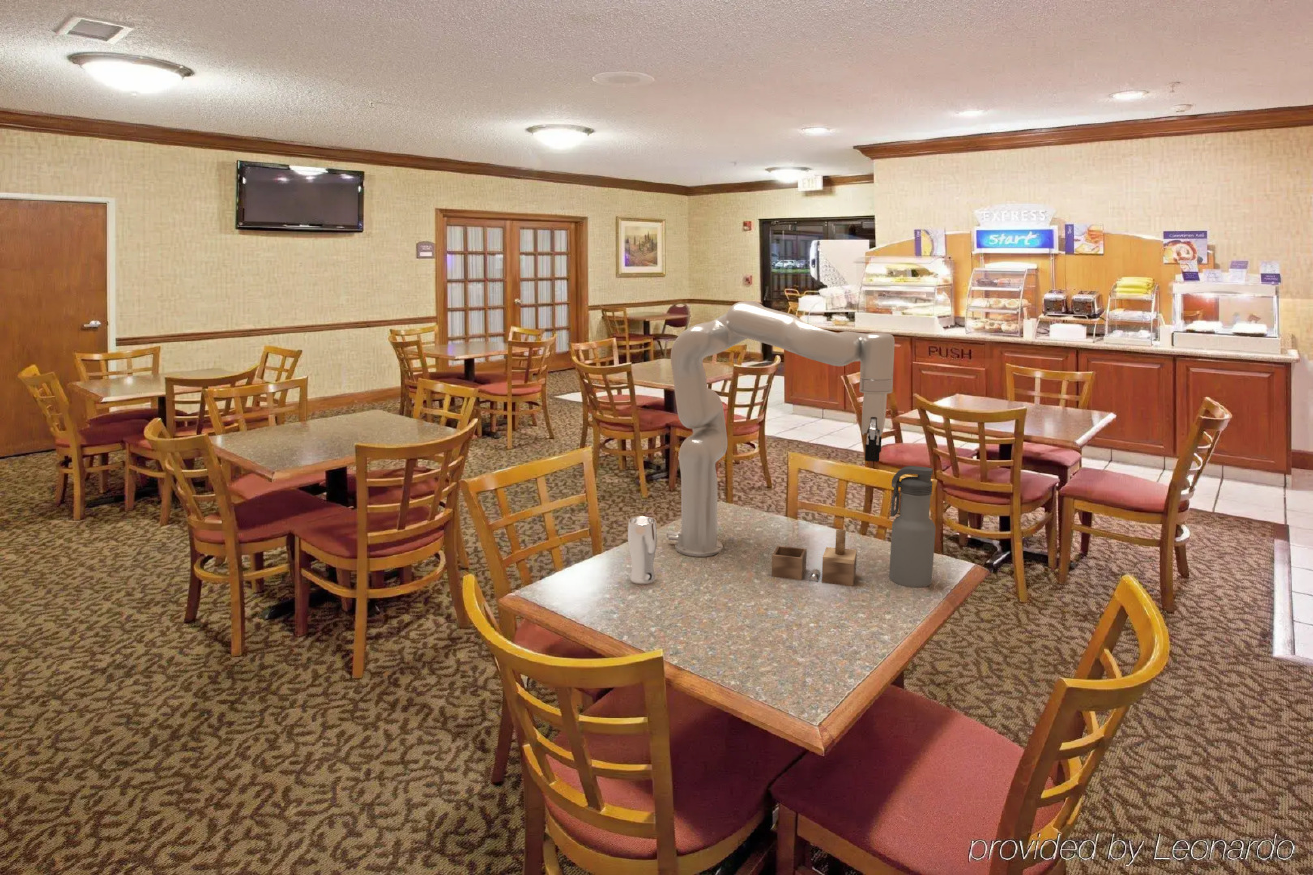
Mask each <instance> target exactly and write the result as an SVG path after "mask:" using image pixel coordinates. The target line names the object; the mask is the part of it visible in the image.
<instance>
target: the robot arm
mask: <svg viewBox="0 0 1313 875" xmlns="http://www.w3.org/2000/svg"><path fill="white" fill-rule="evenodd" d="M747 339H748V340H752V341H755V342H758V343H762V344H766V345H769V346H772V347H775V348H780V349H782V350H784V351H787V352H790V353H793V354H795V355H798V356H800V357H804V358H806V359H809V360H813V361H815V362H816V361H817V362H820V363H823V364H827V365H829V366H835V367H845V366H847V365H849V364H851V363H854V362H860V364H859V365H860V366H859V367H860V369H859V370H860V371H859V393H862V394H863V397H862V409H861V410H862V412H861V414H862V415H861V427H860V428H861V429H860V430H861V435H863V436H864V435H865V434H866V442H865V445H864V446H865V447H864V448H865V449H864V461H865V462H873V463H874V462H875V463H876V462H879V461H880V453H882V436H881V435H883V433H884V428H885V424H886V423H885V422H886V414H887V399H888V394H892V393H893V385H894V384H893V382H894V364H895V363H894V361H895V345H896V344H895V343H896V342H895V337H894V336H893V334H891V333H889V332H887V333H886V332H871V333H862V332H855V331H849V330H848V331H847V330H846V331H845V330H844V331H840V332H834V331H831V330H826V329H824V328H820V327H817V326H813V325H811V324H809V323H806V322H804V321H803V320H802V319H801V318H799V316H796V315H794V314H792V313H789V312H785V311H780V310H777V309H772V308H770V307H765V306H764V305H762V304H761V303H760V302H757V301H756V300H744V301H738V302H736V303H734V304H732V305H731V306H730V307H729V308H728V310H727V312H726V313H724V314H722V315H721V316H718V317H716V318H715V319H713V320H710V321H709V322H701V323H697V324H695V325H692V326H689V327H687V328H686V329H685V330H683V331H682V332H681V333H680V334H679V335H678V336H677V337H676V339H675V340H674V342H673V344H672V346H671V350H670V366H671V370H672V371H671V372H672V379H673V388H674V396H675V403H676V411H677V412H676V413H677V416H678V420H679V422H680V423H681V424H682V426H683V427H685V428H686V429H691V430H692V434H691V435H689V436H687V437H686V438H685V439H684V441H683V442H682V443H681V446H680V447H679V451H678V463H679V468H680V481H681V482H680V483H681V485H680V486H681V487H680V488H681V489H680V490H681V492H680V493H681V498H680V500H681V502H680V504H681V512H680V513H681V517H680V518H681V519H680V520H681V521H680V522H681V530H678V531H674V530H667V531H666V537H667V538H668V540H669V541H676V543H675V550H676V552H678V553H680V554H681V555H685V556H688V557H699V558H701V557H703V558H704V557H705V558H706V557H711V556H714V555H715V556H716V555H718V554H719V553H720V552H722V551H723V546H724V545H723V543H721V541H719V540H718V476H717V470H716V464H717V462H718V461H719V460H721V459H722V458H723V457H724V455H725V454H726V453H727V449H728V434H727V427H726V426H727V425H726V418H725V412H724V404H723V402H722V399H721V397H720V395H719V394H718V393H717V392H716V391H714V390H713V389H711V388H709V387H708V382H707V374H706V371H705V367H704V364H703V362H704V361H703V360H704V359H705V358H707V357H711V356H714V355H718V354H720V353H723V352H725V351H726V350H728V349H730V348H732V347H733V346H736V345H738V344H740V343H741V342H743V341H745V340H747Z"/></svg>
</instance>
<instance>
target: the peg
mask: <svg viewBox="0 0 1313 875" xmlns="http://www.w3.org/2000/svg"><path fill="white" fill-rule="evenodd" d="M820 576H821V571H820V570H819V569H817V568H815V569H813V570H812V571H811V573H810V576H809V579H808V582H815V583H816V582H817V583H818V581H819V578H820Z"/></svg>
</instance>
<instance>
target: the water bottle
mask: <svg viewBox="0 0 1313 875" xmlns="http://www.w3.org/2000/svg"><path fill="white" fill-rule="evenodd" d="M933 472H934V470H933V468H931V467H927V466H926V467H925V466H917V465H916V466H915V465H914V466H913V465H907V466H904V467H902V468H900V469H899V470H898V471H897V472H896V473H895V474H894V476H893V477H892V479H891V487H892V488H893V494H892V496H891V506H890V507H891V508H890V516H891V517H895V518H894V519H893V521H892V522H891V523H892V524H891V534H890V535H891V537H890V540H891V541H890V554H889V555H890V558H889V574H888V576H889V579H890V581H891V582H893V583H894V584H896V585H899V586H901V587H902V586H903V587H907V588H924V587H929V586H930V585H932V581H933V573H934V572H933V571H934V570H933V568H934V555H935V541H936V525H935V522H934V521H933V520H932V519H930V509H931V508H930V507H931V496H932V495H933V493H932V492H933V481H932V476H933ZM905 475H914V476H906V477H903V478H901V477H902V476H905ZM915 475H917V476H915ZM900 479H901V480H900ZM899 488H900V490H899ZM898 512H899V515H898V516H897V517H896V515H897V514H898Z"/></svg>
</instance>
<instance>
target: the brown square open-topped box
mask: <svg viewBox="0 0 1313 875" xmlns="http://www.w3.org/2000/svg"><path fill="white" fill-rule="evenodd" d="M857 557H858V553H857V554H856V558H855V562H854V564H848V563H838V562H829V561H823V560H822V564H821V565H822V567H821V568H822V570H821V583H822V584H830V585H838V586H839V585H840V586H848V587H854V584H855V579H856V576H857Z"/></svg>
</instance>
